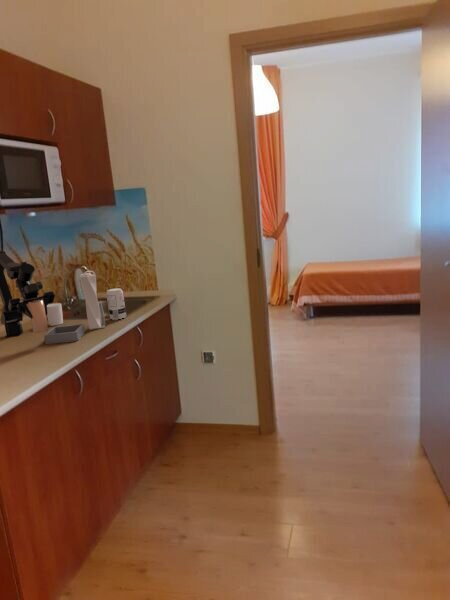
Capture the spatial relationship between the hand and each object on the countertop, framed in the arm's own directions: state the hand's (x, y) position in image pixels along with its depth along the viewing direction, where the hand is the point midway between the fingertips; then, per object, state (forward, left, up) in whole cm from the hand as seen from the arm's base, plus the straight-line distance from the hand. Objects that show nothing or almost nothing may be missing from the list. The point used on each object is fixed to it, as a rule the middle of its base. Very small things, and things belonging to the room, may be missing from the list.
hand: (39, 316), depth 201 cm
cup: (-1, +1, -7) cm, 7 cm away
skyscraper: (+17, +24, -14) cm, 32 cm away
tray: (+6, +11, -13) cm, 18 cm away
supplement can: (+25, +39, -14) cm, 48 cm away
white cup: (-7, +41, -14) cm, 44 cm away
